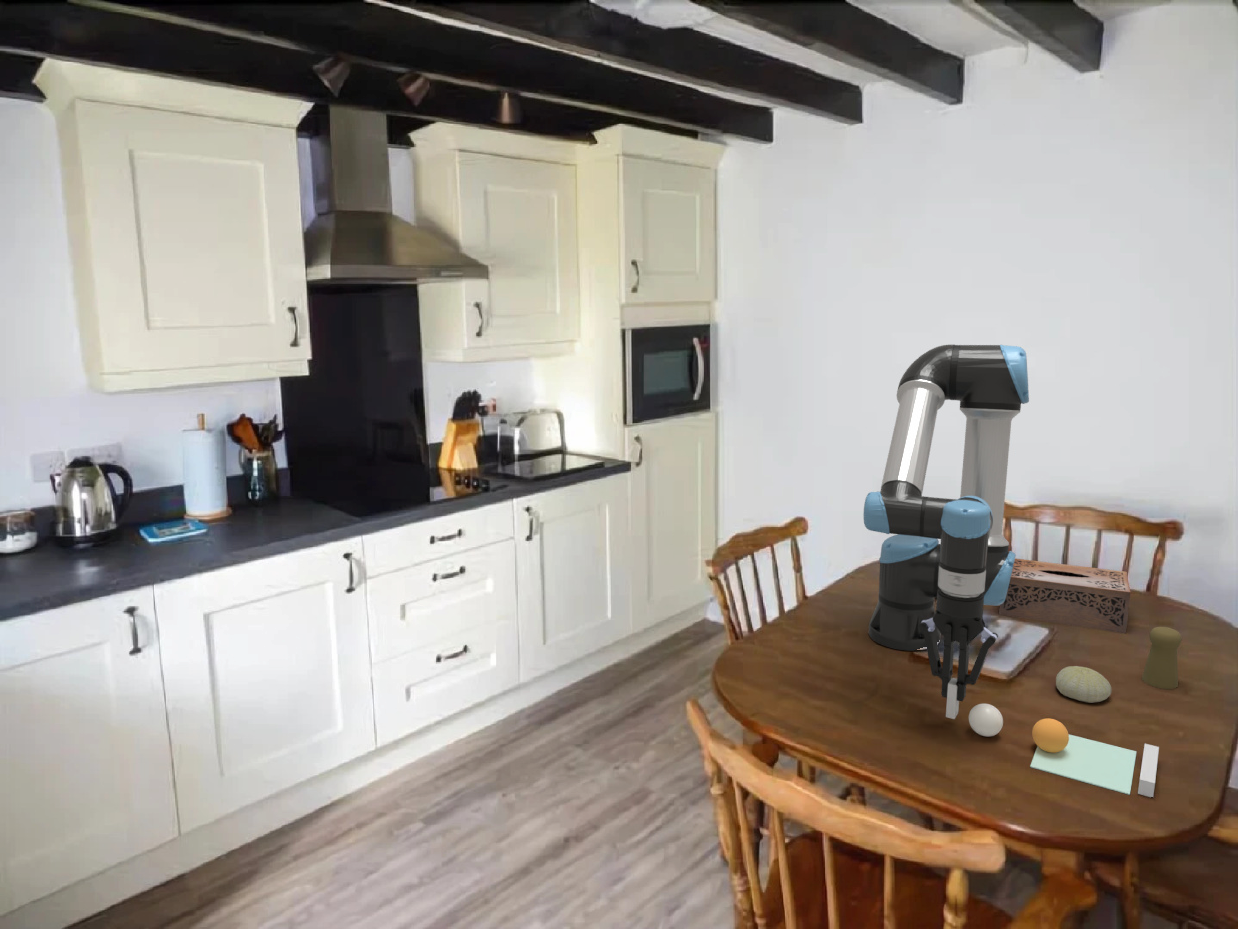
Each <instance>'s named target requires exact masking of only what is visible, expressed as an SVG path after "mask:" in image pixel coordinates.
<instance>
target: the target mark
mask: <svg viewBox="0 0 1238 929" xmlns="http://www.w3.org/2000/svg"><path fill="white" fill-rule="evenodd" d="M1068 734H1069V733H1068ZM1136 757H1137V751H1136V750H1132V749H1127V748H1124V747H1119V746H1116V745H1113V744H1108V743H1105V742H1101V741H1098V740H1093V739H1089V738H1088V739H1087V738H1085V737H1081V736H1078V735H1074V734H1073V735H1072V734H1069V741H1068V744H1067V746H1066V747H1065V748H1064V749H1063V750H1062V751H1060V752H1056V753H1050V752H1046V751H1044V750H1042V749H1041V748H1039V747H1038V746H1037V745H1036V749H1035V752H1034V755H1033V757H1032V760H1031V763H1030V765H1029V767H1030V768H1031V769H1034V770H1035V769H1036V770H1038V771H1039V770H1040V771H1041V772H1042V771H1043V772H1046V773H1050V774H1053V775H1057V776H1061V777H1064V778H1068V779H1071V780H1074V781H1078V782H1082V783H1086V784H1089V785H1093V786H1096V787H1099V788H1104V789H1107V790H1111V791H1115V792H1117V793H1118V792H1119V793H1122V794H1126V795H1129V796H1130V794H1131V791H1132V790H1131V789H1132V784H1133V776H1134V769H1135V764H1136Z"/></svg>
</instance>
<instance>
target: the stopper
mask: <svg viewBox="0 0 1238 929" xmlns="http://www.w3.org/2000/svg"><path fill="white" fill-rule="evenodd" d="M1143 747H1144V748H1143V754H1142V761H1141V767H1140V768H1141V769H1140V776H1139V783H1138V790H1137V794H1138V795H1142V796H1145V797H1147V798H1151V797H1153V798H1154V795H1155V794H1154V793H1155V786H1156V776H1157V768H1158V759H1159V750H1160V746H1157V745H1152V744H1148V743H1144V745H1143Z"/></svg>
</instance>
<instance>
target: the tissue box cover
mask: <svg viewBox="0 0 1238 929" xmlns="http://www.w3.org/2000/svg"><path fill="white" fill-rule="evenodd" d="M1130 599H1131V588H1130V583H1129V577H1128V572H1127V571H1122V570H1114V569H1107V568H1097V567H1091V566H1090V567H1089V566H1081V565H1072V564H1064V563H1056V562H1049V561H1048V562H1046V561H1039V560H1033V559H1032V560H1031V559H1030V560H1029V559H1023V558H1016V557H1015V561H1014V565H1013V569H1012V574H1011V578H1010V582H1009V587H1008V591H1007V595H1006V599H1005V601H1004V602H1003V603H1002V604H1001V605H999V611H998V615H999V616H1006V617H1007V616H1008V617H1013V618H1020V619H1026V620H1033V621H1040V622H1047V623H1052V624H1059V625H1066V626H1073V627H1080V628H1086V629H1093V630H1098V631H1099V630H1102V631H1105V632H1106V631H1108V632H1113V633H1118V634H1119V633H1120V634H1126V633H1127V625H1128V619H1129V617H1128V616H1129V609H1130V601H1131V600H1130Z"/></svg>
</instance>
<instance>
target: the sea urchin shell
mask: <svg viewBox="0 0 1238 929" xmlns="http://www.w3.org/2000/svg"><path fill="white" fill-rule="evenodd" d="M1055 687H1056V689H1057V690H1058V691H1059V692H1060V694H1062V695H1063V696H1064V697H1068V698H1070V699H1071V700H1072V699H1073V700H1076V701H1079V702H1083V703H1089V704H1090V703H1091V704H1092V703H1100V702H1103V701H1106V700H1107V699H1108V698H1109V697H1110V696H1111V695H1112V686H1111V683H1110V682H1109V680H1108V679H1107V678H1105V676H1104V675H1103V674H1101V673H1100V672H1098V671H1096V670H1094V669H1092V668H1089V667H1085V666H1078V665H1074V666H1072V665H1071V666H1070V665H1069V666H1066V667H1064V668H1062V669H1060V671H1059V672H1058V673H1057V674H1056V677H1055Z"/></svg>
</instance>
